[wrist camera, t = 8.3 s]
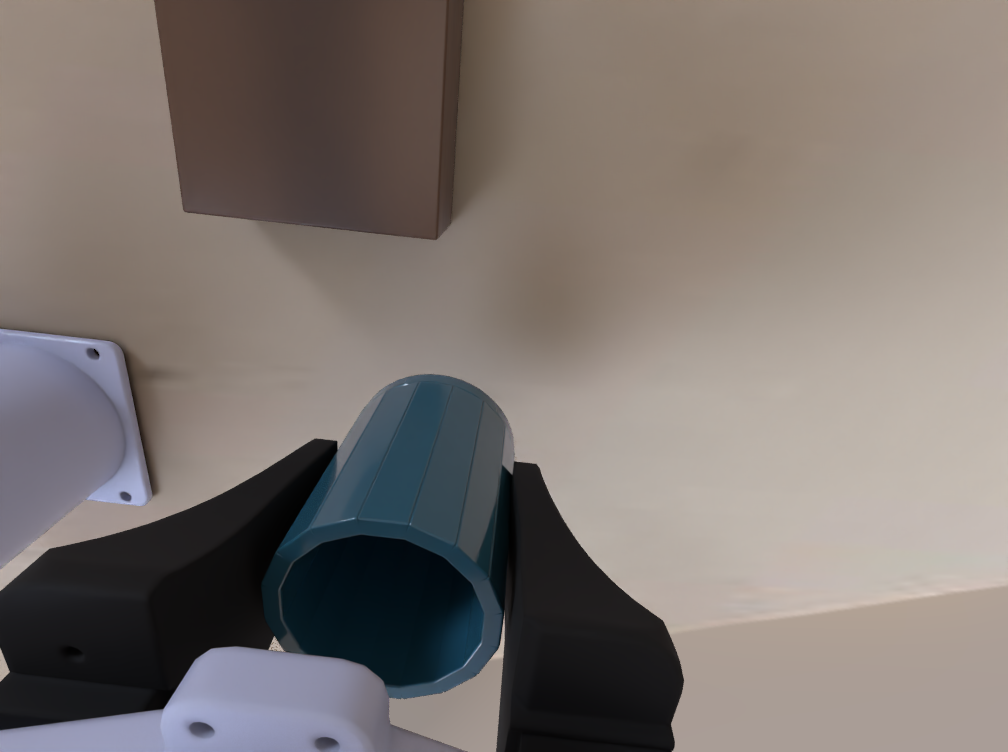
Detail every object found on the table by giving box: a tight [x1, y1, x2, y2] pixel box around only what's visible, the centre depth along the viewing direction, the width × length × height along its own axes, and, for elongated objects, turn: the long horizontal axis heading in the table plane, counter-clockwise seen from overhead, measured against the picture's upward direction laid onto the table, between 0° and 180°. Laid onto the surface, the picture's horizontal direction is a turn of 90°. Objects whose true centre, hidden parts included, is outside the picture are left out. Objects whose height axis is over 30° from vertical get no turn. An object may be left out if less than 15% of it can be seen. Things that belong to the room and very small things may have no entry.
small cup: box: [261, 374, 515, 699], centre depth 14 cm, size 5×5×6 cm
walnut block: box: [154, 0, 464, 240], centre depth 17 cm, size 8×8×3 cm
